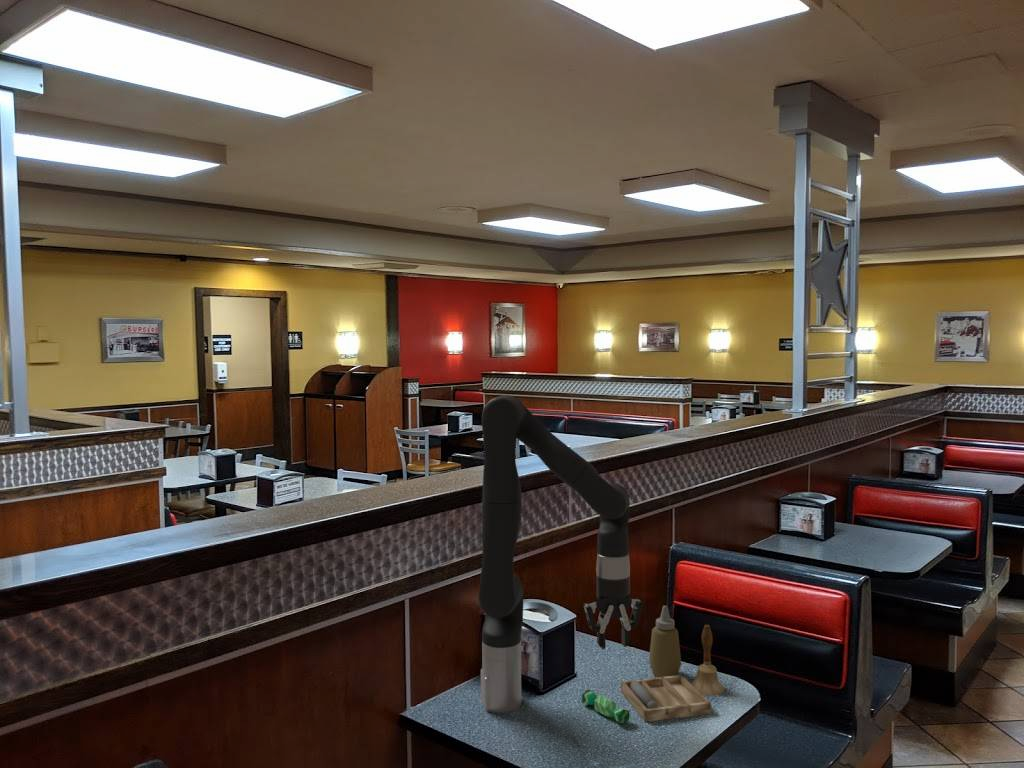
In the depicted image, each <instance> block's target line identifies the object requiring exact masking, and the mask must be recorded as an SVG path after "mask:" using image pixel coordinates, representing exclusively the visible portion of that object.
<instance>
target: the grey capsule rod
mask: <svg viewBox="0 0 1024 768" xmlns="http://www.w3.org/2000/svg"><path fill="white" fill-rule="evenodd" d="M631 689H632V690H633V692H634V693H635V694H636V695H637V696H638V698H639V699H640V700H641V701H642V702H643V704H644V705H645V706H646V707H647V708H648V709H651V708H657V707H658V705H657V703H656V701H655V700H654V699H653V698H652V697H651V696H650V695H649V693H648V692H647V691H646V690H645V689H644V688H643V686H642V685H641V684H640V683H639V682H638V681H633V682H632V683H631Z"/></svg>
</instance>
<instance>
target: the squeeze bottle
mask: <svg viewBox="0 0 1024 768" xmlns="http://www.w3.org/2000/svg"><path fill="white" fill-rule="evenodd" d="M675 625H676V624H675V620H674V619H673V618H671V616H670V612H669V608H668V605H662V609H661V612H660V617H658V618H656V619H655V626H654V627H653V628H652V629H651V638H650V646H649V657H648V662H649V665H650V668H651V672H652V675H653V677H654V678H656V677H666V676H676V675H679V671H680V668H681V666H682V658H681V657H682V656H681V647H680V638H679V631H678V629H677V628H676V627H675Z"/></svg>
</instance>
